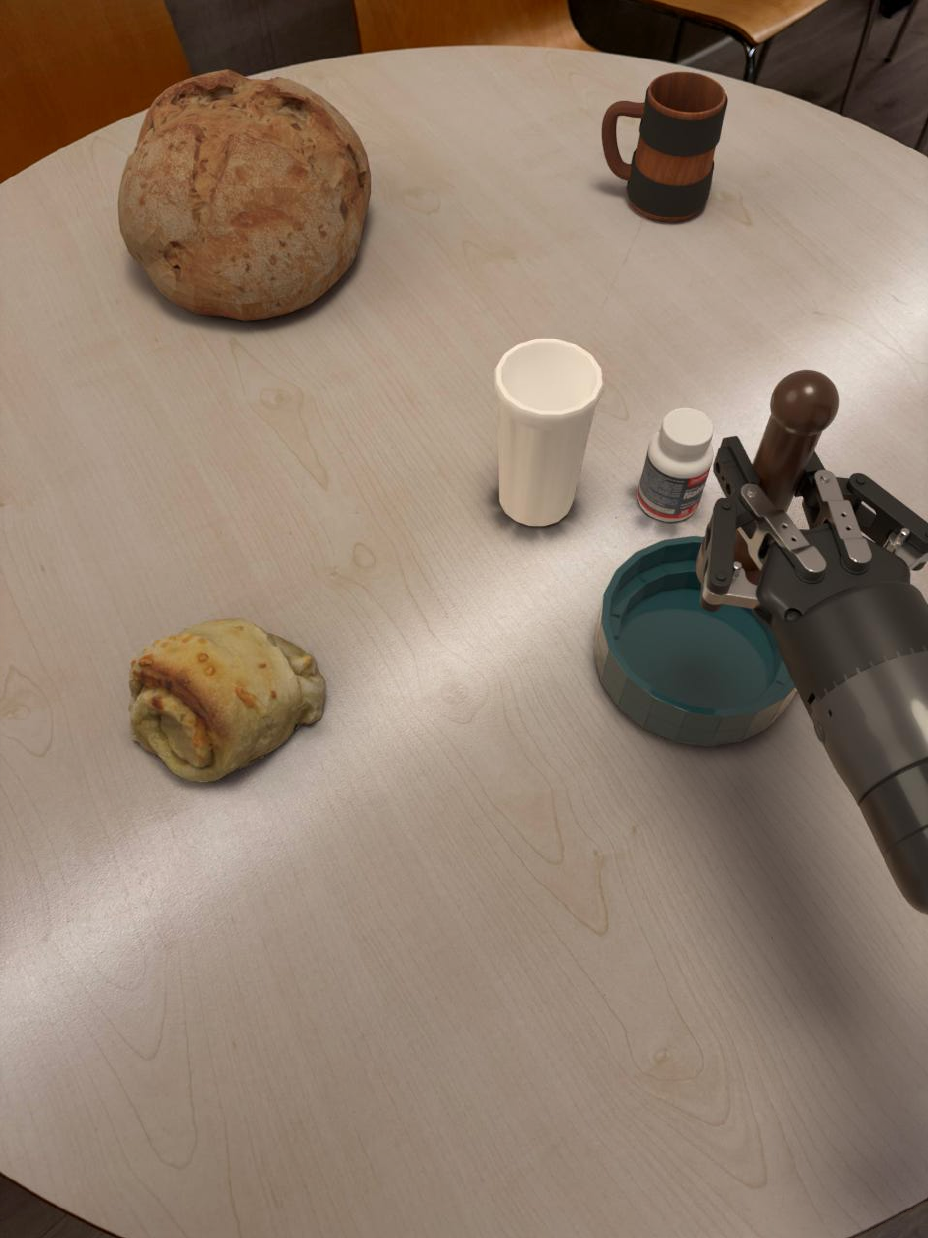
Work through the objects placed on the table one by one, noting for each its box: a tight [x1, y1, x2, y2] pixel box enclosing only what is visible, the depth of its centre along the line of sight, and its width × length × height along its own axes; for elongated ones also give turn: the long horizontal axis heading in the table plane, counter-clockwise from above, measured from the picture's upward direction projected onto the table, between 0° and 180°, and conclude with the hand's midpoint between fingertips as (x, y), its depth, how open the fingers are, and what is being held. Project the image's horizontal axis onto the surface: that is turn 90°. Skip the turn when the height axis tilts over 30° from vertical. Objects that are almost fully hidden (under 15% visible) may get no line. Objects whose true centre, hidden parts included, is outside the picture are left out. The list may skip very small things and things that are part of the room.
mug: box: [601, 71, 729, 223], centre depth 104 cm, size 9×12×12 cm
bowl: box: [593, 535, 798, 747], centre depth 76 cm, size 15×15×6 cm
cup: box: [493, 338, 605, 527], centre depth 81 cm, size 8×8×14 cm
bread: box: [117, 68, 372, 322], centre depth 98 cm, size 26×23×15 cm
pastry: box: [128, 617, 327, 783], centre depth 72 cm, size 14×12×8 cm
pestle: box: [695, 369, 840, 585], centre depth 59 cm, size 5×5×17 cm
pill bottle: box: [636, 407, 715, 523], centre depth 83 cm, size 5×5×9 cm
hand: (753, 442), depth 60 cm, fingers closed on pestle, 3 cm apart
